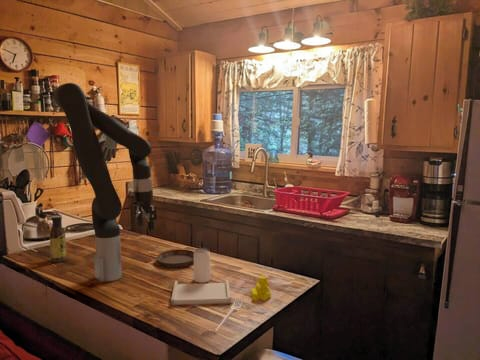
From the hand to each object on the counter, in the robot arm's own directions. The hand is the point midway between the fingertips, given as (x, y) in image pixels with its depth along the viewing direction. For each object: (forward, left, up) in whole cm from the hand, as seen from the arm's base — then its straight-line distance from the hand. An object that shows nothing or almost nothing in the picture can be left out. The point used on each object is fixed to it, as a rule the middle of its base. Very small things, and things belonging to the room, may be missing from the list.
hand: (145, 227), depth 158 cm
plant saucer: (+15, 0, -18) cm, 24 cm away
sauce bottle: (-25, +34, -18) cm, 46 cm away
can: (+12, -24, -18) cm, 32 cm away
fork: (+2, -53, -19) cm, 56 cm away
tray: (+4, -34, -18) cm, 39 cm away
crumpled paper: (+20, -49, -18) cm, 55 cm away
